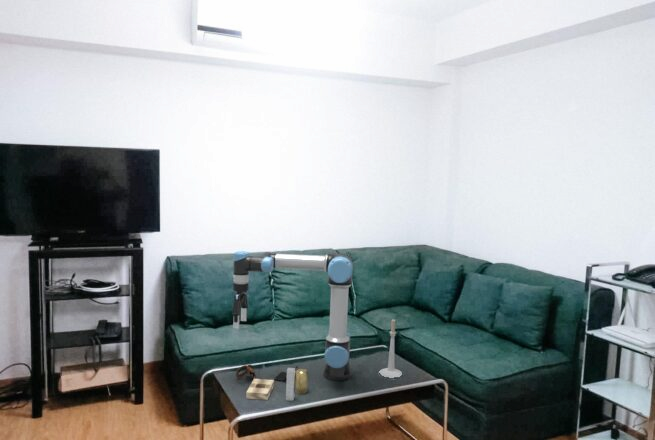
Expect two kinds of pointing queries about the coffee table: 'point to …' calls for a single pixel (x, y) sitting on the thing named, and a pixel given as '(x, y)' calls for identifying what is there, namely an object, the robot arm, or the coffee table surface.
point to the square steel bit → (290, 384)
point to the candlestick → (391, 357)
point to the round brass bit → (301, 381)
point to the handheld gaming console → (281, 377)
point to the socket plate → (260, 389)
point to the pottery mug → (245, 372)
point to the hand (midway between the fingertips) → (239, 324)
